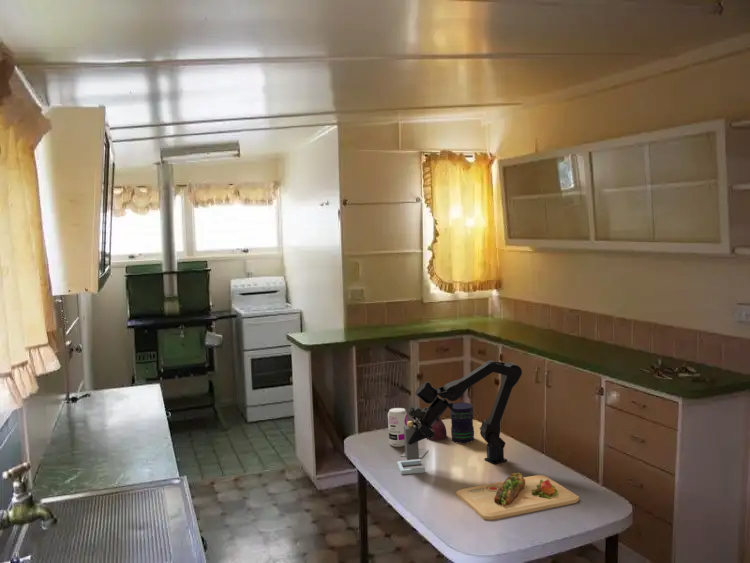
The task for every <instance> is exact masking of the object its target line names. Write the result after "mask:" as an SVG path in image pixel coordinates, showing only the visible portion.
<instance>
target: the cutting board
mask: <svg viewBox="0 0 750 563" xmlns="http://www.w3.org/2000/svg"><path fill="white" fill-rule="evenodd" d="M455 495H456V497H457V498H459V499H460V500H461V501H462V502H463V503H464V504H465V503H466V504H465V505H467V507H468V508H469V509H471V510H472V511H473V510H474V511H475V514H477V515H478V516H479V517H480V518H481V519H482V520H488V521H493V520H499V519H504V518H509V517H513V516H518V515H525V514H528V513H533V512H538V511H543V510H548V509H552V508H557V507H562V506H567V505H572V504H576V503H578V502H579V500H580V496H579V495H577V494H576V493H574V492H572V491H570V490H569V489H568V488H566V487H564V486H562V485H561V484H560V483H558V482H556V481H555V480H553V479H552V478H550V477H548V476H547V475H545V474H544V475H543V474H535V475H532V476H526V477H524V476H523V475H522V473H520V472H517V473H516V472H514V473H511V474H510V475H509V476H508V477H507V478H505V480H503V481H498V482H494V483H493V482H492V483H487V484H483V485H481V484H480V485H476V486H472V487H466V488H461V489H458V490H457V491H456V492H455Z"/></svg>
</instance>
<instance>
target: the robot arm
mask: <svg viewBox="0 0 750 563" xmlns="http://www.w3.org/2000/svg"><path fill="white" fill-rule="evenodd" d="M492 373H494V374H495V373H496V374H499V375H500V376H501V377H500V380H501V381H500V383H501V384H500V386H499V389H498V391H497V392H498V393H497V395H496V398H495V400H494V403H493V405H492V408H491V411H490V415H489V417H488V418H487V420H486V419H482V421H481V425H480V427H479V430H480V433H479V434H480V436H481V438H482V439H483V440H484V441H485V442H486V457H485V458H484V459H483V460H484V461H487V462H489V463H491V464H493V465H497V464H501V463H504V462H507V461H508V459H507V458H505V456H504V455H505V452H504V451H505V450H504V449H505V446H506V442H505V441H504V440H503V439H502V438H501V437H500V435H501V422H502V419H503V416H504V413H505V410H506V407H507V404H508V402H509V399H510V397H511V393H512V391H513V388H514V387H515V386H516V384H518V382H519V380H520V379H521V377H522V373H523V370H522V368H521V367H520V366H519V365H518V364H516V363H514V362H512V361H507V362H502V361H494V360H491V359H488V360H487V361H486V362H485V363H484V364H481V365H480V366H478V367H476V368H475V369H474V370H473V371H471V372H469V373H467V374H466V375H465V376H463V377H461V378H459V379H456V380H452V381H449V382H447V383H445V384H444V385H443V386H440V387H436V388H435V387H434V386H432V384H431V383H430V382H429V381H427V380H426V381H425V382H424V383H422V384H421V385H419V386H418V387H417V388H416V390H415V392H414V393H415V394H414V395H416V397H418V399H420V400H421V402H423V403H424V404H429V405H428V406H425V407H424V408H420V407H419V406H416V405H412V404H410V405H409V406H408V408H407V410H406V412H407V415H409V416H410V417H411V420H410V421H413V425H416V426H415V433H414V434H413V436H412V437H411V439H410V440H409V442H408V444H410V445H411V444H413V443H415V442H418V443H419V442H420V441H422V440H424V439H425V440H426V438H430V439H432V438H433V437H434V432H433V430H432V428H433V427H432V425H433V424H434V423H435V422H436V421H439V420H440V419H439V417H440V418H441V416H442V415H443V414H444V412H445V411H446V410H447V409H449V410H450V409H451V410H453V404H454V403H453V402H455V401H457V400H459V399H460V397H462V396H464V394H465V393H466V392H467V390H468V389H469V388H470V387H472V386H473V385H475V384H477V383H478V382H481V381H482V380H483V379H485V378H486V377H488V376H489V375H491V374H492Z"/></svg>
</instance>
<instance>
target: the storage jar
mask: <svg viewBox="0 0 750 563" xmlns="http://www.w3.org/2000/svg"><path fill="white" fill-rule="evenodd" d="M449 410H450V412H449V414H450V420H451V427H450V430H451V431H450V434H451V441H452V442H453V441H454V442H453V443H456V442H457V443H456V444H468V443H467V442H470V443H472V442H474V441H475V437H474V436H475V428H474V406H473V404H472V403H469V402H456V403H453V410H451V409H450V408H449ZM473 440H474V441H473ZM471 441H472V442H471Z"/></svg>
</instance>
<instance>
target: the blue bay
mask: <svg viewBox="0 0 750 563" xmlns="http://www.w3.org/2000/svg"><path fill="white" fill-rule="evenodd" d="M414 465H415V466H416V465H422V460H421V458H419V459H413V460H399V461H396V466H397V467H398V470H399V473H400V474H401V475H410V474H411V475H412V474H421V473H426V467H425V466H423V467H422V466H421V467H415V468H414V467H413V468H404V467H406V466H414Z"/></svg>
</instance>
